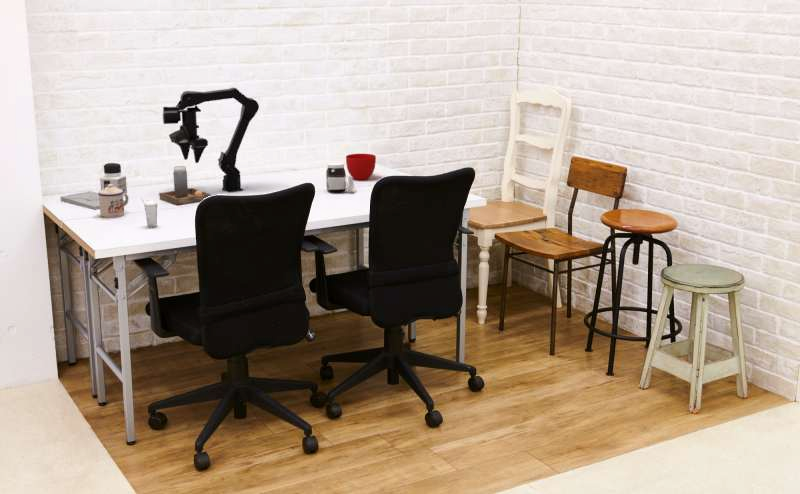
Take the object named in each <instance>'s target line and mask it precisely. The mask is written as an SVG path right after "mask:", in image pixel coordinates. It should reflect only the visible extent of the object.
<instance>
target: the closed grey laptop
mask: <svg viewBox="0 0 800 494" xmlns="http://www.w3.org/2000/svg"><path fill="white" fill-rule="evenodd" d="M125 200H126V199H123V201H124V203H125ZM60 202H65V203H68V204H72V205H76V206H79V207H83V208H87V209H90V210H95V211H97V210H100V202H99V195H98V192H95V191H92V190H89V191H84V192H83V191H82V192H78V193H72V194H68V195H61V196H60Z"/></svg>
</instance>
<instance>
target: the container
mask: <svg viewBox="0 0 800 494" xmlns="http://www.w3.org/2000/svg"><path fill="white" fill-rule="evenodd" d="M103 172H104V176H102V177H100V178H99V182H100V190H103V189H104V188H106V187H108V184H113V187H116V188H118V189H121V190H123V192H124V193H125V194H127V193H128V188H127V186H128V185H127V184H128V183H127V175H126V174H122V166H121V164H120V163H119V162H118V163H117V162H108V163H105V164H103ZM127 195H128V194H127Z"/></svg>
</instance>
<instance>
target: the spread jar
mask: <svg viewBox="0 0 800 494" xmlns="http://www.w3.org/2000/svg"><path fill="white" fill-rule="evenodd" d="M326 166H327V168H326V171H325V172H326V173H325V179H326V180H325V182H326V183H325V185H326V191H327V192H328V193H330V194H341V193H342V194H343V193H344V192H346V190H348V192H349V193H350V194H351V193H354V192H355V191H356V187H355V183H354V179H353V177H352V176H351V175H350V176H349V175H348V176H347V175H346V173H347V172H346V170H345V163H344V162H339V161H332V162H328V163H327V165H326Z"/></svg>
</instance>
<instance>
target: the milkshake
mask: <svg viewBox="0 0 800 494" xmlns="http://www.w3.org/2000/svg"><path fill="white" fill-rule="evenodd" d="M141 200H142V202H143V206H144V211H145V217H146V224H147V225H146V226H147V227H148V228H154V227H155V228H156V227H157V226H158V202H157V201H155V200H147V201H146V202H144V200H143V199H141Z"/></svg>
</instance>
